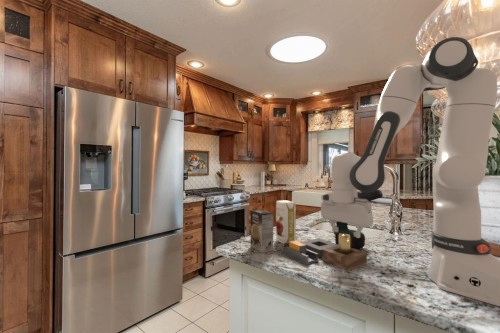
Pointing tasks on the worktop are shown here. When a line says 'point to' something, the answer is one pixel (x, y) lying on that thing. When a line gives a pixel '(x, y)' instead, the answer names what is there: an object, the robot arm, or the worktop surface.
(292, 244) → the orange rectangular block
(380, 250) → the worktop surface
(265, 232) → the coffee box
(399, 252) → the worktop surface
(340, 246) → the brass peg
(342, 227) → the power drill
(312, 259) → the rail
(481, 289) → the robot arm
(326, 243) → the socket block
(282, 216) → the juice carton
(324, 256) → the brown wooden box
